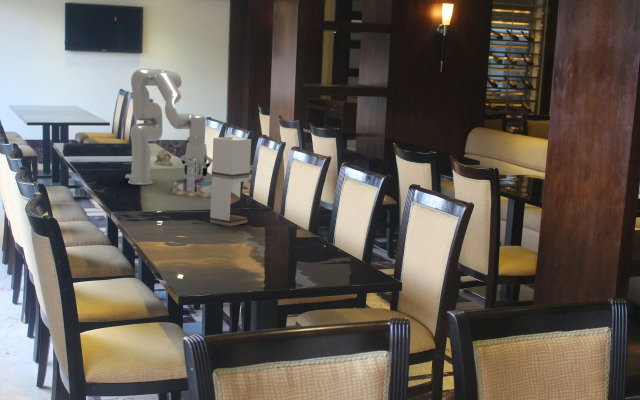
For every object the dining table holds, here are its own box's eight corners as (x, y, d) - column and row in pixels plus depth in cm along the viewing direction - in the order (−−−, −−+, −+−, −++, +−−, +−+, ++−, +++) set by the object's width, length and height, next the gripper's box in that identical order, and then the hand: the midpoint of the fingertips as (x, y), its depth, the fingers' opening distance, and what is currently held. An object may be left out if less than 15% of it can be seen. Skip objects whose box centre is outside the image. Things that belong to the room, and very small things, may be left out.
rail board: (172, 193, 395) (172, 180, 394) (185, 190, 409) (185, 177, 408) (205, 197, 390) (205, 184, 389) (217, 194, 403) (218, 181, 402)
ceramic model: (151, 163, 507) (151, 147, 505) (168, 163, 513) (168, 147, 511) (159, 166, 495) (160, 150, 494) (176, 165, 501) (177, 150, 500)
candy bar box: (194, 188, 405) (195, 156, 402) (203, 189, 404) (204, 157, 401) (185, 191, 394) (186, 158, 392) (195, 192, 393) (196, 159, 391)
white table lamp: (230, 226, 326) (234, 140, 320) (210, 222, 331) (213, 137, 326) (247, 222, 336) (251, 139, 330) (227, 218, 341) (230, 136, 335)
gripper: (177, 139, 394) (176, 174, 397) (209, 142, 389) (208, 177, 392) (184, 138, 401) (183, 172, 404) (216, 141, 396) (214, 175, 399)
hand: (195, 174), depth 398 cm, fingers open, 9 cm apart
